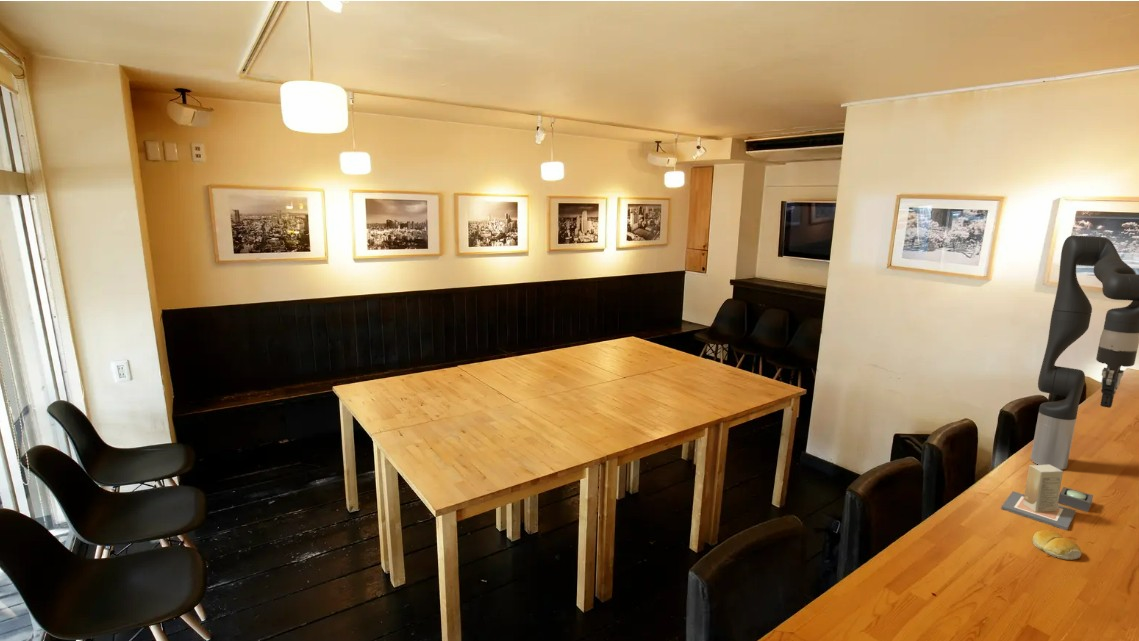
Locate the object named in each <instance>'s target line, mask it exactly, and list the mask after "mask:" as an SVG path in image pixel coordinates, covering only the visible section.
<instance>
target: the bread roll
mask: <svg viewBox="0 0 1139 641" xmlns="http://www.w3.org/2000/svg"><path fill="white" fill-rule="evenodd" d="M1032 543H1033V545H1034V547H1036V548H1037V549H1038V550H1040V551H1043V552H1045V553H1046V554H1047V555H1050V556H1051V557H1054V558H1056V557H1057V558H1058V559H1060V560H1067V561H1068V560H1071V561H1072V560H1077V559H1080V557H1081V556H1082V549H1081V548H1080V547H1079V546H1078V544H1077V543H1075V542H1074V541H1073V540H1072V539H1069V538H1066V537H1064V536H1063V535H1061V533H1058V532H1056V531H1052V530H1047V529H1046V530H1043V529H1042V530H1039V531H1036V532H1035V533H1034V534H1033V537H1032Z"/></svg>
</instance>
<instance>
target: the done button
mask: <svg viewBox="0 0 1139 641" xmlns="http://www.w3.org/2000/svg"><path fill="white" fill-rule="evenodd" d="M1073 490H1074V489H1073ZM1073 490H1068V491H1067V495H1068V496H1072V497H1075V498H1078V499H1082V500H1085V499H1086V495H1085V494H1083V493H1081V492H1082V491H1080V492H1078V491H1079V490H1076V491H1073Z"/></svg>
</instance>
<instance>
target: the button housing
mask: <svg viewBox="0 0 1139 641" xmlns="http://www.w3.org/2000/svg"><path fill="white" fill-rule="evenodd" d="M1068 490H1073V491H1078V492H1081V493H1083V494H1085V495H1086V499H1085V500H1082V499H1078V498H1075V497H1072V496H1068V495H1067V491H1068ZM1093 498H1094V494H1090V493H1087V492H1084V491H1080V490H1077V489H1072V488H1070V487H1065V486H1062V489H1061V490H1060V493H1059V499H1058V504H1060V505H1062V506H1065V507H1070V508H1073V509H1077V510H1080V511H1083V512H1085V513H1086V512H1087V513H1088V512H1089V511H1090V508H1091V506H1092V503H1093V500H1094V499H1093Z"/></svg>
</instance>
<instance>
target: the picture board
mask: <svg viewBox="0 0 1139 641" xmlns="http://www.w3.org/2000/svg"><path fill="white" fill-rule="evenodd" d="M1024 495H1025V493H1024V494H1023V493H1020V492H1017V491H1013V490H1012V491H1011V493H1010V494H1009V496H1008V497H1007V498H1006V499H1005V501H1004V502H1003V504H1002V505H1001V506H1000V507H1001V508H1000V509H1001V510H1003V511H1006V512H1007V511H1008V512H1010V513H1013V514H1016V515H1018V516H1022V517H1024V518H1028V519H1031V520H1033V521H1037V522H1040V523H1044V524H1047V525H1049V526H1052V527H1056V528H1059V529H1061V530H1064V531H1068V529H1069V527H1070V526H1071V523H1072V521H1073V519H1074V516H1075V515H1076V513H1077V510H1075V509H1074V508H1073V509H1072V508H1071V507H1070V508H1069V507H1068V506H1064V505H1061V504H1060V505H1059V504H1058V505H1057V511H1050V512H1035V511H1033V510H1031V509H1030V508H1028V507H1027V506H1025V505H1024V504H1023V501H1024Z"/></svg>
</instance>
